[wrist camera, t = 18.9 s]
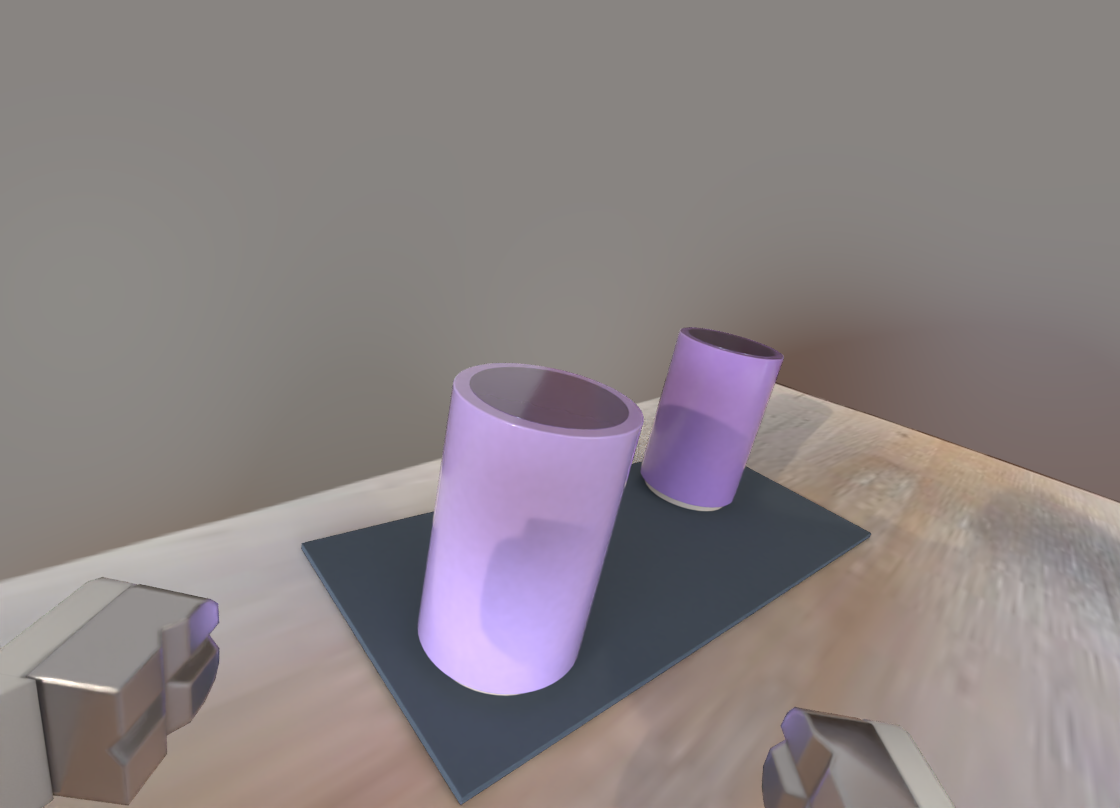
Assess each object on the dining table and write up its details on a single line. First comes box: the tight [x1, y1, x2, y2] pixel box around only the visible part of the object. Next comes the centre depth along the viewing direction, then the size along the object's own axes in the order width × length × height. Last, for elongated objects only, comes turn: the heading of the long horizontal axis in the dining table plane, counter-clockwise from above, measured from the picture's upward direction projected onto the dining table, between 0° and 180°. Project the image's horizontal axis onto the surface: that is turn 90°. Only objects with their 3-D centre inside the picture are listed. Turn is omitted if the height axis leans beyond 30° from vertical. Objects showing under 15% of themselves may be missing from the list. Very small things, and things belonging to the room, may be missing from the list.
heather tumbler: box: [640, 327, 784, 511], centre depth 35 cm, size 6×6×10 cm
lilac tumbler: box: [417, 363, 644, 696], centre depth 20 cm, size 6×6×10 cm
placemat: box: [301, 462, 871, 805], centre depth 30 cm, size 31×13×1 cm, turn 131°
